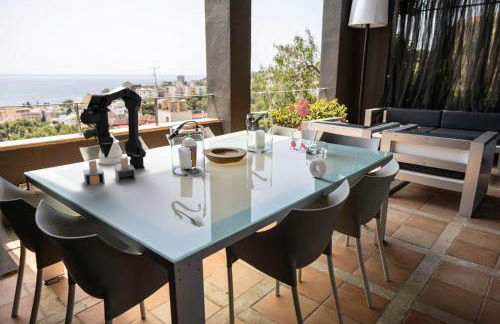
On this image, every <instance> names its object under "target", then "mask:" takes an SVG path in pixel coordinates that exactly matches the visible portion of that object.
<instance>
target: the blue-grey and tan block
mask: <svg viewBox="0 0 500 324" xmlns="http://www.w3.org/2000/svg"><path fill="white" fill-rule="evenodd" d="M97 165H98V164H97V160H96V159H90V160H88V167H89V169H83V170H82V171H83V179H84V184H85V185H84V186H85V187H88V183H87V182H90V179H89V175H96V174H99V181H100V180H101V181H102V183H103V184H106V181H105V172H104V169H103V168H102V167H100V168H99V167H98V166H97Z"/></svg>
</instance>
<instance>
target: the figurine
mask: <svg viewBox="0 0 500 324" xmlns="http://www.w3.org/2000/svg"><path fill="white" fill-rule="evenodd" d="M295 109H296V110H297V113H298V114H297V115H296V118H298V119H300V120H301V122H300V125H299V126H298V127H297V129H296V130H293V131H292V132H291V134H292V138H294V135H293V133H294V132H296V131H298V132H300V131H301V133H302V138H304V136H305V135H304V132H303V130H302V123H303V120H304V119H303V118H306V117H307V116H308V114H309V115H310V116H312V118H313V119H316V118H315V117H314V115H313V114H312V113H311V112H310V110H311V105H310V101H309V100H307V98H304V99H303V98H300V99H299V102H298V105H297V106H296V108H295V106H294V105H293V104H291V105H289V106H288V110H289V112H290V115H291V117H293V113H294V111H295ZM296 147H297V142H296V141H295V140H291V143H290V147H289V150H290V149H292V148H293V149H295V148H296ZM301 148H303V149H304V150H305V151H306V149H307V150H308V147H307V146H306V145H305V144H304V141H301V143H300V146H299V150H298V152H299V151H301Z"/></svg>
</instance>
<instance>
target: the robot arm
mask: <svg viewBox="0 0 500 324" xmlns="http://www.w3.org/2000/svg"><path fill="white" fill-rule="evenodd" d="M90 97H91V98H90V99H89V102H88V105H87V106H86V108H83V110H82V112H81V113H80V116H79V119H80V122H81V123H82V124H83V125H84V126H85V125H93V126H94V127H93V128H92V127H91V128H89V129H85V130H84V131H82V132H81V134H82V136H83V137H84V139H85V140H86V141H87V140H89V139H91V138H94V140H95V141H96V142H97V144H98V145H99V150H100V149H101V152H102V154H104V156H105V158H106V157H108V154H109V152H110V149H111V147H112V144H113V143H114V142H113V138H112V137H111V136H110V133H109V131H110V126H111V125H110V123H109V122H110V121H109V120H110V119H109V113H110V112H111V109H109V107H110V106H111V105H112V103H113V102H114V101H116V100H119V99H121V100H122V101H123V103H124V108H126V109H125V110H127V118H128V119H127V121H128V123H127V125H128V127H127V128H128V139H127V140H126V141H124V151H125V153H126V157H127V158H130V159H128V162H129V165H133V167H134V168H135V170H137V169H145V165H144V158H145V157H146V156H147V152H146V150H145V149H144V148H143V144H142V141H141V140H140V138H139V110H140V108H142V100H143V99H142V96H141V95H140V94H138V93H137V91H134V90H132V89H131V88H129V87H128V86H119V87H118V88H116V89H112V90H110V91H108V92H105V93H95V94H92V95H91V96H90Z"/></svg>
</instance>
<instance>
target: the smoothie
mask: <svg viewBox="0 0 500 324" xmlns="http://www.w3.org/2000/svg"><path fill="white" fill-rule="evenodd" d="M187 135H188V137H186V138H184V139H183V140H182V143H181V147H182V146H185V147H189V148H190V151H191V160H192V167H195V168H196V167H197V156H198V155H197V154H198V153H197V152H198V143H197V141H196V140H195V139H194V138H193V137H191V135H190V132H188V133H187Z"/></svg>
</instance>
